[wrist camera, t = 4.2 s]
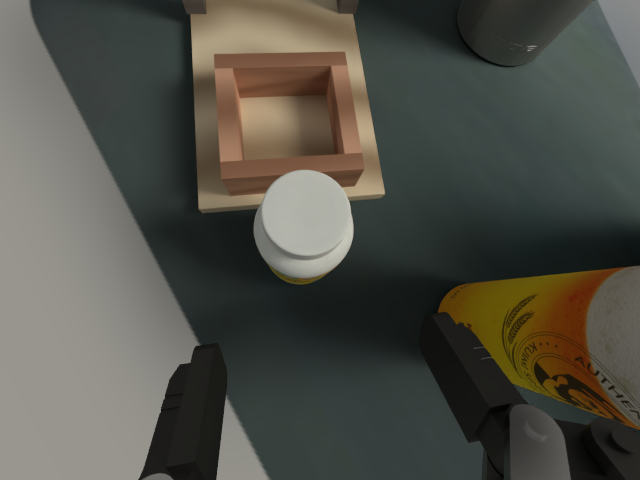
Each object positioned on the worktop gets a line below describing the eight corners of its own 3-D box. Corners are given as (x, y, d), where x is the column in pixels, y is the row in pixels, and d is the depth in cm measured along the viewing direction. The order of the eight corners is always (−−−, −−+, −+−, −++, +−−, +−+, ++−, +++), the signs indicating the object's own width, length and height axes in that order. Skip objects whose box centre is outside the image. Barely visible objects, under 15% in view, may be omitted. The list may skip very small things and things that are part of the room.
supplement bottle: (339, 222, 23) (375, 167, 13) (329, 290, 21) (360, 282, 12) (272, 210, 22) (258, 144, 13) (257, 278, 21) (232, 260, 12)
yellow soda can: (416, 329, 21) (683, 387, 7) (459, 268, 23) (760, 208, 8) (480, 384, 21) (907, 571, 6) (520, 319, 22) (950, 352, 8)
